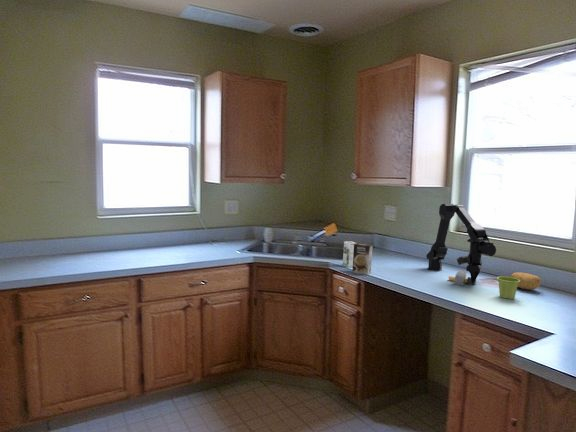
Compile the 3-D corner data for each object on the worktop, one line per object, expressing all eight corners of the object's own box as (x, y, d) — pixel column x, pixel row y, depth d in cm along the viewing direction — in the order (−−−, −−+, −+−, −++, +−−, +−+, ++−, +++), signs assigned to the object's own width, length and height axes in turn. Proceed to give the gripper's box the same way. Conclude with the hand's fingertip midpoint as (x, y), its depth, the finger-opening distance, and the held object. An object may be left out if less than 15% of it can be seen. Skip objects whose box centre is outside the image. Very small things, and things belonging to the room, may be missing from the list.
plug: (448, 281, 216) (448, 275, 216) (449, 279, 219) (449, 273, 219) (475, 284, 210) (476, 278, 210) (475, 283, 213) (476, 277, 213)
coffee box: (351, 272, 227) (353, 244, 226) (355, 270, 233) (357, 242, 231) (368, 275, 223) (369, 246, 221) (371, 272, 229) (372, 244, 227)
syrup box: (342, 265, 245) (343, 241, 243) (351, 264, 247) (352, 240, 246) (346, 267, 240) (348, 242, 238) (355, 266, 242) (357, 242, 240)
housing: (454, 284, 210) (455, 275, 209) (457, 278, 222) (458, 270, 222) (463, 285, 208) (463, 276, 208) (465, 279, 220) (466, 271, 220)
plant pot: (490, 295, 194) (492, 277, 193) (505, 293, 197) (507, 275, 196) (507, 301, 185) (509, 282, 184) (523, 299, 188) (525, 280, 187)
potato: (517, 284, 214) (519, 269, 213) (544, 292, 201) (546, 276, 201) (505, 286, 210) (506, 270, 209) (531, 294, 197) (533, 277, 196)
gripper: (460, 247, 222) (458, 275, 224) (456, 253, 206) (454, 283, 208) (483, 249, 217) (480, 278, 219) (481, 256, 201) (478, 287, 203)
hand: (473, 281), depth 212 cm, fingers closed on plug, 3 cm apart
